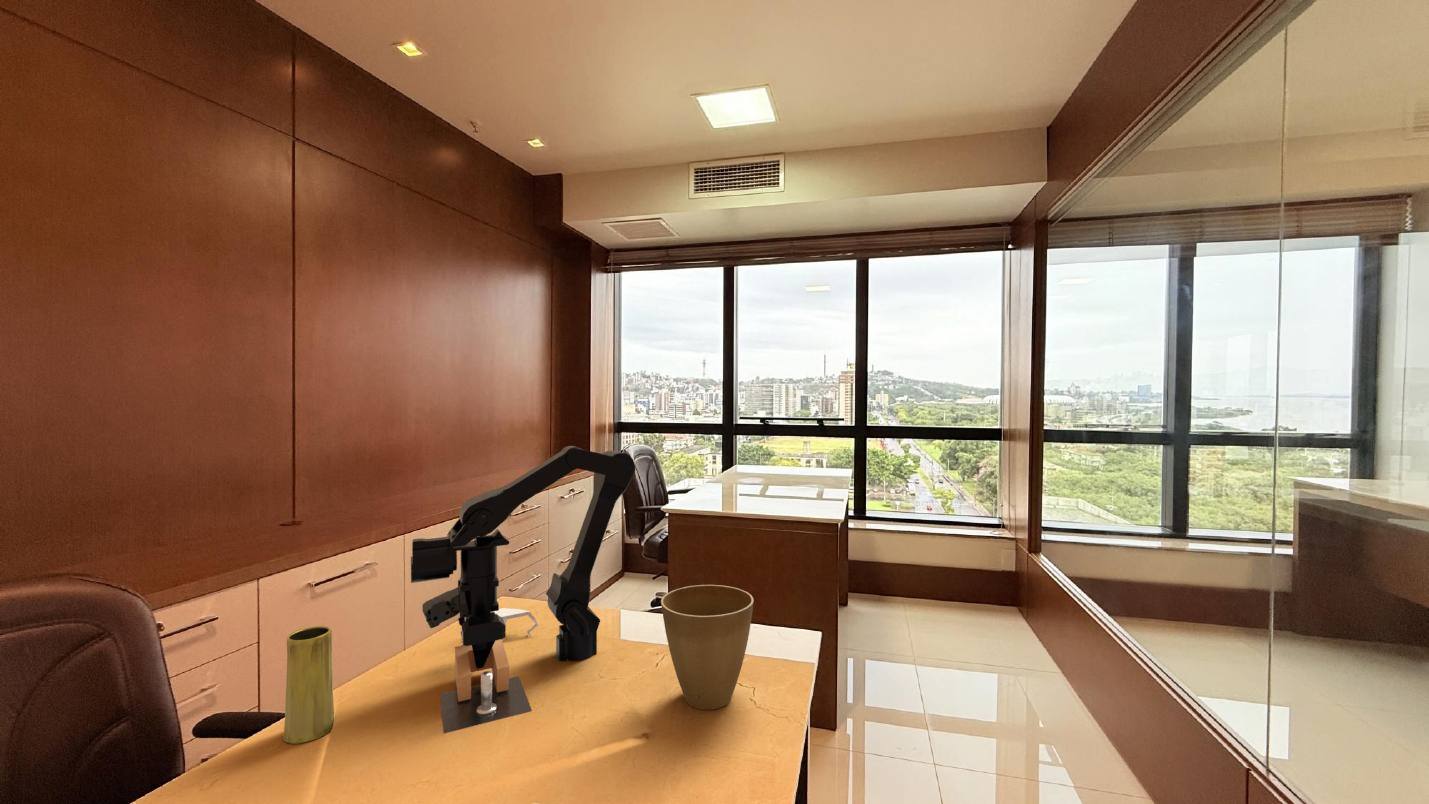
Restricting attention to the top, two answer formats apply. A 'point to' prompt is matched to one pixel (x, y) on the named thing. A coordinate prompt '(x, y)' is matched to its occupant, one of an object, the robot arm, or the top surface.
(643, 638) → the top surface
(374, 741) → the top surface
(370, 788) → the top surface
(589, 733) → the top surface
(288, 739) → the vase
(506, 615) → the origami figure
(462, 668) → the c link
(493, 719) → the peg stand
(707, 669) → the plant pot
